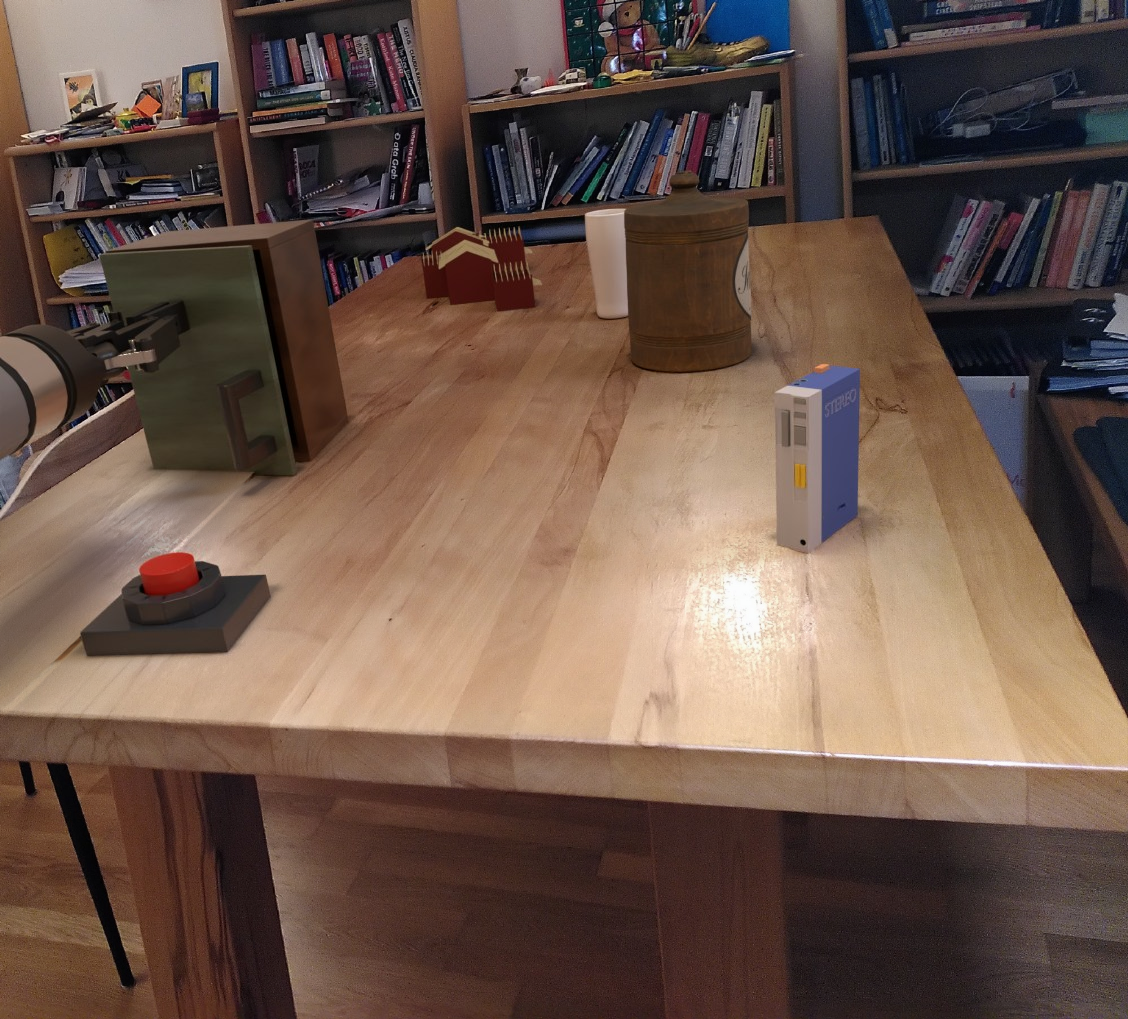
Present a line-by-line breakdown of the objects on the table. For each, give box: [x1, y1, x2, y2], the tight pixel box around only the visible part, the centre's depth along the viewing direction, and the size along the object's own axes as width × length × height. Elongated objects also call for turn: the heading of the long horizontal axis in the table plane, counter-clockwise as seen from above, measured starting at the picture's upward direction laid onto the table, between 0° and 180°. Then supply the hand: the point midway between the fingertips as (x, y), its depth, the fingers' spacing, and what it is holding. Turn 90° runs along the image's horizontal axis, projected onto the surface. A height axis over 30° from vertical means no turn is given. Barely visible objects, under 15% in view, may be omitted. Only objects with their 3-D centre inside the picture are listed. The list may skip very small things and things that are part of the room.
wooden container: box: [624, 170, 752, 373], centre depth 125 cm, size 15×15×22 cm
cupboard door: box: [98, 245, 298, 477], centre depth 97 cm, size 6×16×22 cm, turn 73°
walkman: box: [774, 363, 861, 554], centre depth 76 cm, size 8×3×12 cm, turn 139°
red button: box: [138, 551, 199, 596], centre depth 72 cm, size 4×4×2 cm
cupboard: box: [104, 219, 350, 464], centre depth 107 cm, size 13×16×22 cm
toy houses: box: [420, 226, 544, 312], centre depth 184 cm, size 45×20×10 cm, turn 6°
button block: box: [79, 560, 272, 657], centre depth 72 cm, size 10×8×4 cm
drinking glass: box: [584, 208, 628, 320], centre depth 152 cm, size 7×7×15 cm
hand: (175, 315), depth 97 cm, fingers closed
